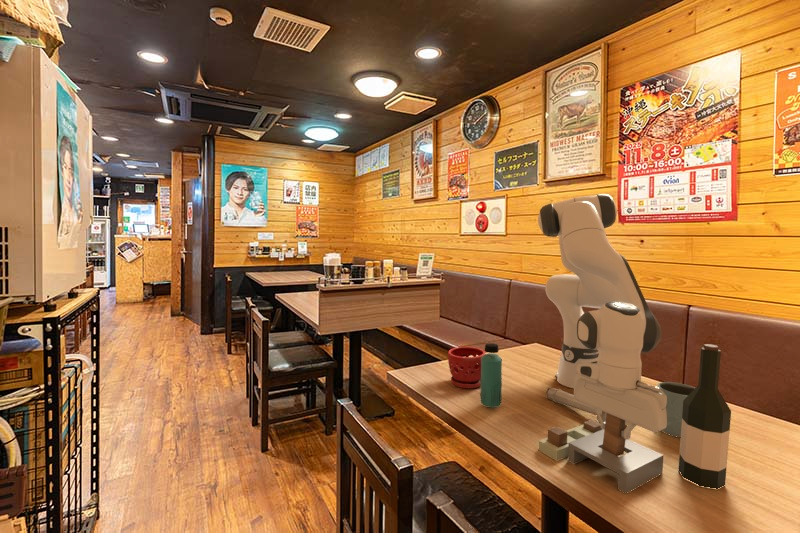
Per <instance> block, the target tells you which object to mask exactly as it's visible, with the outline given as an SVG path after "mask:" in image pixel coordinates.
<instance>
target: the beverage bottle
mask: <svg viewBox="0 0 800 533" xmlns="http://www.w3.org/2000/svg"><path fill="white" fill-rule="evenodd" d="M484 351H485V355H484V356H482V357H481V379H480V382H481V386H480V397H479V399H480V404H481V405H483V406H485V407H488V408H498V407H500V406H501V405H502V403H503V402H502V399H503V398H502V384H503V377H502V376H503V374H502V373H503V371H502V370H503V369H502V368H503V367H502V365H503V364H502V362H503V360H502V359H503V358H502V357H501V356H500V355H499V354H498V353H499V345H498V344H497V343H492V342H491V343H490V342H489V343H485V345H484Z"/></svg>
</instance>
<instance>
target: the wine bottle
mask: <svg viewBox="0 0 800 533" xmlns="http://www.w3.org/2000/svg"><path fill="white" fill-rule="evenodd" d="M721 352H722V350H720V349H719V346H718V345H717V344H711V343H706V344H703V347H700V355H699V356H700V360H699V372H698V384H697V386H696V387H694V388H695V389H694V390H693V391H692V392H691V393H690V394H689V395H688V396H687V397H686V398H685V399H684V400H683V412H682V426H681V438H680V440H679V442H680V444H679V458H678V469H679V471H680V472H681V474H682V476H683V477H684V478H686V479H688V480H690V481H692V482H694V483H696V484H698V485H699V486H704V487H710V488H716V489H718V488H720V487H722V486H724V485H725V486H726V481H727V480H726V478H727V467H728V466H727V465H728V456H729V442H730V429H731V421H732V420H731V419H732V418H731V416H732V410H731V408H730V407H729V405H728V404H727V402H726V400H725V398H724V396H723V395H722V393H721V392H720V389H719V379H720V368H721V356H722V353H721ZM679 471H678V472H679ZM681 474H680V475H681ZM682 476H681V477H682ZM725 486H724V487H725ZM722 488H723V487H722ZM720 489H721V488H720ZM718 490H719V489H718Z"/></svg>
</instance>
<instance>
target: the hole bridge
mask: <svg viewBox="0 0 800 533" xmlns="http://www.w3.org/2000/svg"><path fill="white" fill-rule="evenodd" d="M603 438H604V429H603V430H600V431H598V432H595V433H592V434H590V435H587V436H585V437H582V438H579V439H577V440H574V441H572V442H569V448H568V456H567V461H568V462H570V463H571V464H572V465H575V464H577V463H580V462H583V461H584V460H587V459H591V460H593V461H594V462H595V463H598V464H599V465H601V466H603V467H605V468H606V469H607V468H608V469H609V470H611V471H613V472H614V473H617V474H618V486H617V487H618V489H619V490H618V489H617V490H618V491H620V490H621V491H622V493H623V492H624V494H625V493H627V492H629V493H630V492H632V491H634V490H636V489H638V488H639V487H638V486H640V485H642V484H643V485H645V484H647V483H648V482H647V481H649V480H651V479H652V478H654V477H656V476H658V475H659V474H662V475H663V469H664V454H663V453H661V452H660V453H659V452H658V451H655V450H653V449H651V448H648V447H647V446H644V445H642V444H640V443H639V442H635V441H633V440H631V439H627V440H625V448H624V454H623V455H620V456H616V455H614V454H612V453H610V452H608V451H606V450H604V449H602V447H603ZM625 453H626V454H625ZM658 477H659V476H658ZM656 478H657V477H656ZM651 481H652V480H651ZM646 482H647V483H646ZM649 482H650V481H649ZM644 483H645V484H644ZM643 485H642V486H643ZM637 487H638V488H637ZM640 487H641V486H640ZM635 488H636V489H635ZM633 489H634V490H633ZM631 490H632V491H631ZM621 491H620V492H621ZM627 494H628V493H627Z"/></svg>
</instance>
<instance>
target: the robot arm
mask: <svg viewBox="0 0 800 533" xmlns="http://www.w3.org/2000/svg"><path fill="white" fill-rule="evenodd" d="M617 215H618V207H617V204H616V202H615V200H614V199H613V197H612V196H611V195H610V194H608V193H607V194H606V193H597V194H596V195H585V196H577V197H573V198H569V199H565V200H561V201H558V202H554V203H552V202H551V203H548V204H545V205H543V206H542V207H541V208H540V209H539V213H538V217H537V222H538V227H539V230H540V231H541V232H542V234H543V236H546V237H550V238H557V236H558V243H559V252H560V256H561V257H560V259H561V263H562V265H563V267H564V268H565V269H566V270H568V271H570V272H572V273H574V274H568V273H567V274H566V273H564V274H555V275H551V276H550V277H549V278H548V280H546V283H545V287H544V289H545V295H546V296H547V298H548V300H550V301H551V302H552V303H553V304H554V305H555V307H556V308H557V309H558V311H559V314H560V315H561V318H562V323H563V324H562V325H563V342H562V343H561V353H562V354H561V355H560V357H559V360H558V361H559V362H558V368H557V372H555V377H556V381H557V382H558V383H559V384H560V385H562V386H564V387H567V388H570V389H573V395H574V396H575V398H576V400H577V401H580V402H582V403H584V404H587V405H589V406H592V407H594V408H596V409H597V415H598V417H599V419H600V421H601V428H602V429H604V430H605V422H606V413H609V414H611V415H613V416H616V417H618V418H621V419H623V420H625V425H627V427H626V428H623V429H621V430H620V437H622V438H624V439H626V440H627V439H629V440H631V439H630V438H631V435H632V434H631V433H632V432H631V431H633V430H634V428H635V427H636V426H638V427H641V428H642V429H645V430H647V431H650V432H652V433H658V432H662V431H661V430H663V429H665V428H666V426H667V412H666V406H667V396H666V395H665V393H664V392H663V391H661V390H660V388H658V386H656V385H651V384H648V383H646V382H643V381H642V366H643V365H642V364H643V363H642V358H641V353H642V354H647V353H649V352H651V351H652V350H654V349H655V348H656V346H657V345H658V344H659V342H660V341H661V339H662V327H661V325H660V323H659V321H658V319H657V317H656V316H655V315H654V314H653V312H652V310H651V309H650V307H649V305H648V303H647V301H646V299H645V296H644V294H643V292H642V289H641V287H640V285H639V283H638V281H637V278H636V276H635V274H634V272H633V271H632V268H631V266H630V264H629V261H628V260H627V259H626V257H625V256H624V255H622V254H620V253H619V252H618V251H617V250H615V248H614V247H613V246H612V245H611V243H610V242H609V239H608V237H607V234H606V230H605V229H607V228H610V227H612V226H613V225H614V223H616V221H617V220H616V219H617ZM583 307H584V308H592V309H594V310H589V311H584V310H583ZM659 392H661V393H659ZM597 415H596V416H597Z"/></svg>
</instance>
